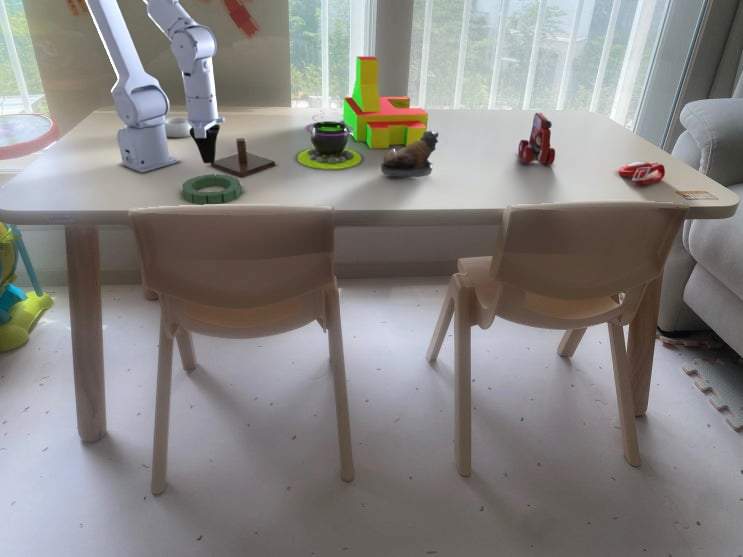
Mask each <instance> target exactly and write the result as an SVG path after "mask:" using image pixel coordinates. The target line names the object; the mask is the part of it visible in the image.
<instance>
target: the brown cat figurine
mask: <svg viewBox="0 0 743 557" xmlns="http://www.w3.org/2000/svg"><path fill="white" fill-rule="evenodd" d="M438 137H439V131H436V132H434V131H433V130H427V131H426V132H425V131H424V132H423V137H422V138H420V140H421V141H415V142H413V143H411V144H410V145H408V146H407V147H406V146H405V147H403V148H401V149H399V150H398V151H396V150H395V148H392V149H391V150H390V151H388V152H387V153H386V154H385V156H384V158H383V162H382V163H381V164H380V171H381V172H382V173H383V175H387V176H392V177H397V178H398V177H399V178H419V177H427V176H430V175H431V174H432V171H433V167H434V164H433V162H431V160H430V159H429V158H430V156H431V154H432V153H433V152H434V151H436V149H437V147H436V146H437V144H438V143H439V140H438Z"/></svg>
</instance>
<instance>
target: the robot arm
mask: <svg viewBox="0 0 743 557" xmlns="http://www.w3.org/2000/svg"><path fill="white" fill-rule="evenodd" d="M84 1H85V3H86V6H87V8H88V10H89V12H90V15H91V17H92V19H93V23H94V24H95V27H96V29H97V31H98V34H99V36H100V38H101V42H102V43H103V46H104V48H105V51H106V53H107V55H108V58H109V59H110V62H111V65H112V67H113V69H114V72H115V74H116V77H117V81H116V83H115V84H114V86H113V87H112V88H111V91H110V92H111V95H112V97H113V100H114V108H115V112H116V114H117V117H119V119H120V120H121V121H122V122H123V123H124V127H122V128H119V129H118V131H117V134H116V135H117V137H116V138H117V143H118V146H119V151H120V156H121V160H122V161H121V162H120V164H121V165H122V166H125V167H127V168H129V169H132V170H134V171H137V172H139V173H146V172H150V171H152V170H156V169H159V168H163V167H166V166H169V165H172V164H176V163H179V162H180V161H179V159H178V158H175V157H172V156H171V155H170V149H169V145H168V144H169V143H168V139H167V138H168V137H166V132H165V126H164V121H165V120H166V118H167V117H166V116H167V115H168V114H169V112H170V100H169V98H168V96H167V94H166V93H165V92H164V90H163V89H162V87H161V85H160V83H159V80H158V79H157V78H155V77H153V76H151V75H150V74H149V73H147V72H145V69H144V66H143V64H142V62H141V59H140V57H139V54H138V52H137V49H136V47H135V44H134V41H133V40H132V39H133V38H132V37H131V34H130V32H129V29H128V27H127V24H126V21H125V19H124V17H123V14H122V12H121V9H120V7H119V5H118V2H117V0H84ZM142 1H143V2H144V3H145V4H146V12H147V13H146V14H147V15H148V17H149V18H150V19H151V20H152V22H154V24H155V25H156V26H157V27H158V28H159V29H160V30H161V32H162V33H163V34H164V35H165V37H167V39H168V40H169V41H170V42H171V43H170V49H171V52H172V54H173V56H174V57H175V59H176V62H177V65H178V69H179V70H180V72H181V75H182V82H183V88H184V89H183V90H184V97H185V103H186V110H187V118H188V123H189V124H190V125H191V126H192V128H191V129H190V131H189V132H190V137H191V138H192V139H193V141H194V144H196V146H197V149H198V152H199V154H200V157H201V160H202V162H203V164H211V163H214V161H216V153H217V152H216V150H217V148H216V147H217V139H218V135H219V132H220V129H221V125H220V124H218V123H224V122H225V120H226V119H225V116H222V115H219V112H218V105H217V103H218V102H217V94H216V87H215V86H216V84H215V77H214V68H213V59H212V58H213V57H214V56H215V55H216V53H217V48H218V44H217V39H216V37H215V35H214V33H213V32H212V30H211V29H210V28H209V27H208V26H206V25H203V24H200V23H198V22H196V21H195V20H194V18H193V17H191V16H190V15H189V14H188V12H186V10H185V8H184V7H182V6H181V4H180V3H179V0H142ZM135 90H137V91H135ZM132 91H134V92H132Z"/></svg>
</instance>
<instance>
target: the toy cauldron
mask: <svg viewBox="0 0 743 557" xmlns="http://www.w3.org/2000/svg"><path fill="white" fill-rule="evenodd" d="M332 110H335V109H334V108H332ZM321 114H324V112H323V111H321ZM330 115H336V116H341V117H342V114H338V113H337V114H336V113H335V112H333V113H330ZM316 116H317V117H318V114H315V115H313V116H312V120H313V121H315V117H316ZM344 117H345V116H344ZM323 118H324V116H321V119H323ZM345 119H347V118H345ZM344 121H345V120H344ZM344 121H343V120H342V121H341V122H340V121H335V120H332V121H328V120H327V121H326V120H325V121H322V120H321V121H318V120H317V121H315V122H313V123H310V124H308V125H306V126H305V127H304V130H305V131H306V132H308V133H310V141H311V144H312V146H313V147H312V148H308V149H305V150H302V151H301V152H299V154H297V161H298V162H299V163H300V164H302V165H304V166H305V167H309V168H312V169H318V170H342V169H349V168H353V167H355V166H357V165H359V164H360V162H361V161H362V157H361V155H360V154H359V153H358V152H356V151H354V150H352V149H349V148H347V146H348V143H349V137H353V135H352V134H351V131H352V130H353V129H354V128H353V127H352V126H350V125H349V126H348V124H347V125H346V124H345V123H344ZM348 128H349V129H348ZM351 128H353V129H351ZM349 130H350V131H349ZM353 131H354V130H353ZM353 131H352V132H353Z"/></svg>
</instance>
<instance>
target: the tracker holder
mask: <svg viewBox="0 0 743 557" xmlns="http://www.w3.org/2000/svg"><path fill="white" fill-rule="evenodd" d="M617 171H618V175H620V176H625V177H626V176H628V177H629V176H631V177H632V176H633V177H632V179H631V181H632V182H634V183H635V184H636V185H650V184H653V183H655V182H658V181H661V180H662V179H664V177H665V175H666V169H665V166H664V165H663V164H661V163H659V162H656V161H635V162H631V163H627V164H626V165H624V166H622V167H620V168H618V170H617ZM656 171H657V173H656V175H655V176H652V177H649V178H647V177H648V175H650V174H653V173H654V172H656Z"/></svg>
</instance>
